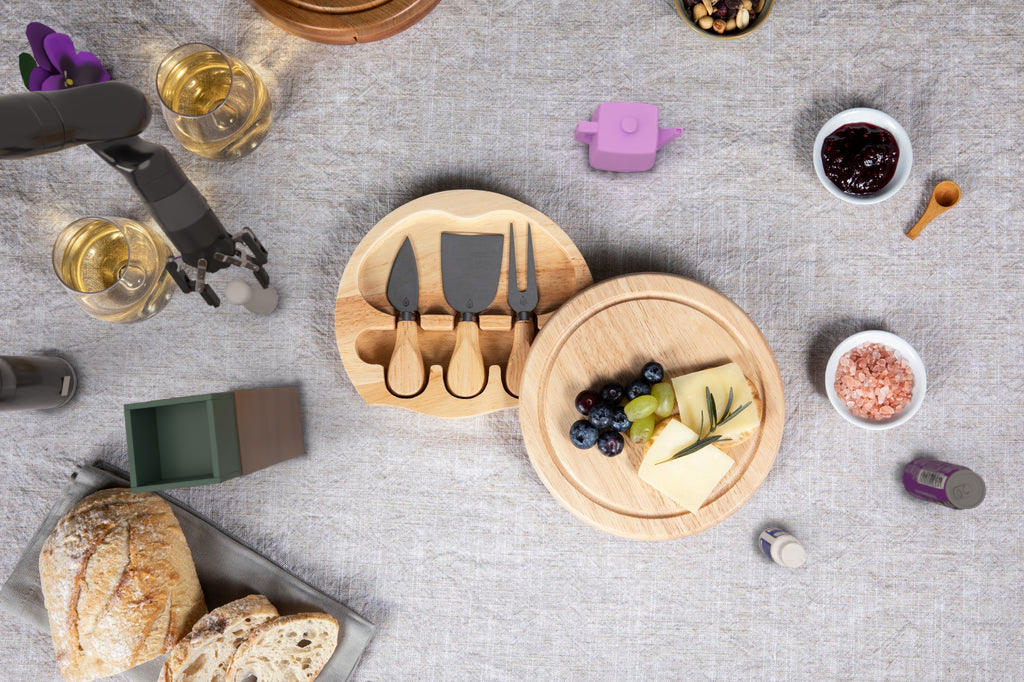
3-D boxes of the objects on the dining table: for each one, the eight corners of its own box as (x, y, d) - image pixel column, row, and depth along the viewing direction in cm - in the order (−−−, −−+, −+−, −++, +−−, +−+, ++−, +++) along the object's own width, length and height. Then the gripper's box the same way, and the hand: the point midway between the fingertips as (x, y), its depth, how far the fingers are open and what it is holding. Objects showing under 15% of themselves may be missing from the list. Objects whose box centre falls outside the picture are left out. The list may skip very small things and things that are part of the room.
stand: (238, 461, 118) (158, 486, 92) (231, 394, 119) (149, 400, 93) (304, 453, 118) (243, 476, 92) (297, 386, 119) (234, 390, 93)
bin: (159, 485, 92) (131, 494, 86) (151, 402, 93) (123, 404, 86) (242, 475, 92) (220, 483, 85) (233, 391, 93) (211, 393, 86)
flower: (74, 142, 126) (116, 131, 120) (-19, 115, 113) (22, 101, 107) (77, 67, 127) (119, 52, 121) (-15, 32, 114) (26, 12, 107)
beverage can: (912, 505, 116) (957, 520, 104) (892, 468, 116) (935, 479, 104) (948, 486, 116) (997, 499, 104) (928, 449, 116) (975, 458, 104)
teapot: (674, 118, 120) (688, 95, 109) (671, 176, 119) (685, 158, 109) (574, 114, 120) (579, 90, 110) (571, 171, 120) (575, 152, 109)
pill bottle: (778, 562, 116) (799, 578, 107) (752, 546, 116) (771, 561, 107) (794, 536, 116) (816, 550, 107) (768, 520, 116) (788, 533, 107)
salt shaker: (278, 319, 119) (248, 312, 106) (247, 313, 119) (213, 305, 106) (285, 287, 119) (256, 277, 106) (254, 281, 120) (221, 270, 107)
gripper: (134, 245, 95) (199, 324, 106) (226, 209, 95) (282, 292, 106) (142, 219, 101) (204, 297, 112) (230, 185, 101) (283, 267, 112)
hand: (242, 295), depth 109 cm, fingers open, 8 cm apart
